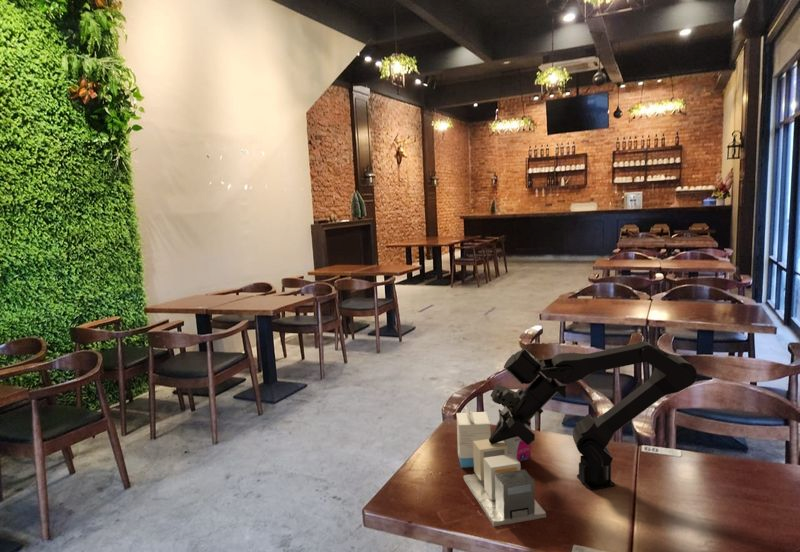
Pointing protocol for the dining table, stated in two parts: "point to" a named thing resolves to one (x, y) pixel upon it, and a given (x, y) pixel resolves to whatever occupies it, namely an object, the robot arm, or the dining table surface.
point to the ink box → (471, 434)
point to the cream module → (497, 470)
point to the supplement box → (518, 448)
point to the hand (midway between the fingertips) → (490, 442)
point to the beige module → (486, 454)
